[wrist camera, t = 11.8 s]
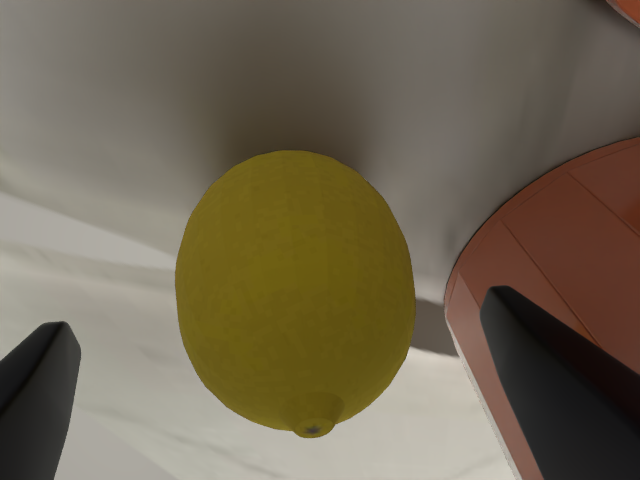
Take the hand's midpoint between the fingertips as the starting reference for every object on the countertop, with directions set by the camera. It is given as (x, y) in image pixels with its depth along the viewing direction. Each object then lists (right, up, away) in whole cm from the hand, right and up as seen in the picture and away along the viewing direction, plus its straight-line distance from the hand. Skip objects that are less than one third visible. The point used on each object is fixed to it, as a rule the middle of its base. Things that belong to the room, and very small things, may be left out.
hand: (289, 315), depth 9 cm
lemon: (-1, +3, +4) cm, 6 cm away
